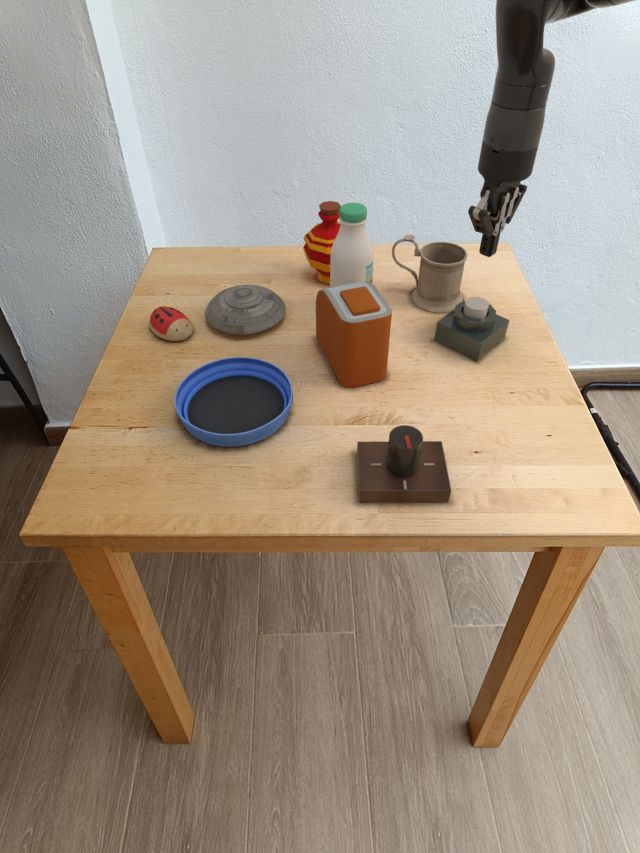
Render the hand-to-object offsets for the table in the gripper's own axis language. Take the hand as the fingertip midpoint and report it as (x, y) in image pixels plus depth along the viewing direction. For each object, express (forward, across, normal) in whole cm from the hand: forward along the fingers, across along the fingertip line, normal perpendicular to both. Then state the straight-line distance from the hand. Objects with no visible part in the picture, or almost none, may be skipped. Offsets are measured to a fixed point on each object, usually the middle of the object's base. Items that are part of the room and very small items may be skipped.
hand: (487, 253), depth 92 cm
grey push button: (+11, 0, 0) cm, 11 cm away
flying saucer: (+17, +22, -35) cm, 45 cm away
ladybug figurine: (+17, +34, -42) cm, 57 cm away
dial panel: (+17, +34, +10) cm, 39 cm away
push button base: (+17, 0, 0) cm, 17 cm away
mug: (+17, -6, -14) cm, 23 cm away
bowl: (+17, +40, -17) cm, 47 cm away
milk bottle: (+17, +7, -22) cm, 29 cm away
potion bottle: (+17, +1, -33) cm, 37 cm away
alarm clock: (+17, +18, -12) cm, 27 cm away
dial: (+14, +33, +10) cm, 38 cm away
